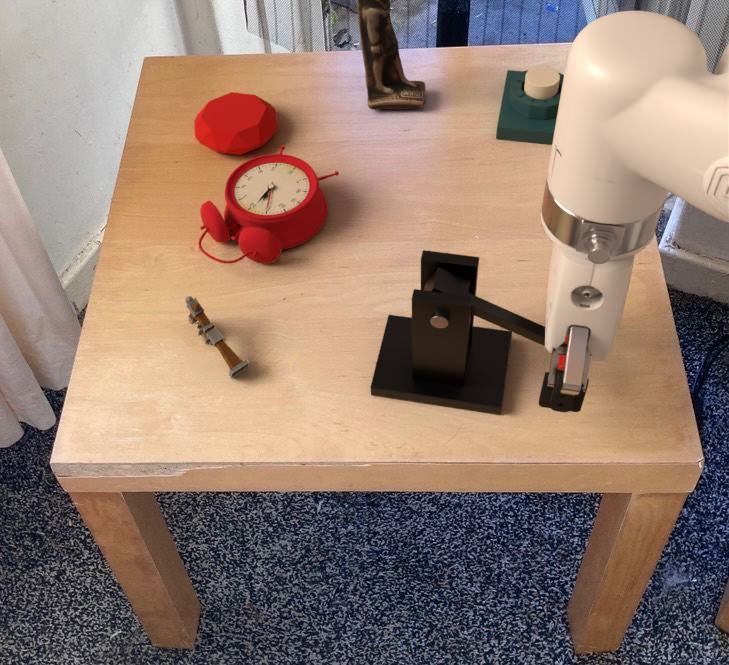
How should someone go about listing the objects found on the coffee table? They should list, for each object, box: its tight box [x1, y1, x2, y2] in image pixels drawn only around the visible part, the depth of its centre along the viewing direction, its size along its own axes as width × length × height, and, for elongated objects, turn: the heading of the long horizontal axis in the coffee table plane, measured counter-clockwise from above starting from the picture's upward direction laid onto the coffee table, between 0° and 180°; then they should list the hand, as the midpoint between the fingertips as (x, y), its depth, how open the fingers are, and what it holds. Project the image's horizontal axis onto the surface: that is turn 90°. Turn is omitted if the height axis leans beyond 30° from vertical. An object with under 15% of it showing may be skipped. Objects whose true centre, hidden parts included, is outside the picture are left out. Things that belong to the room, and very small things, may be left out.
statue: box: [356, 0, 426, 111], centre depth 88 cm, size 4×7×20 cm, turn 89°
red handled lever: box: [424, 267, 569, 371], centre depth 67 cm, size 13×5×2 cm, turn 78°
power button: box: [524, 65, 560, 100], centre depth 91 cm, size 4×4×2 cm
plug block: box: [495, 69, 564, 146], centre depth 92 cm, size 8×10×4 cm
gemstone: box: [193, 91, 279, 156], centre depth 93 cm, size 9×9×3 cm
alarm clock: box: [197, 145, 340, 265], centre depth 83 cm, size 10×6×15 cm
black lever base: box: [369, 249, 513, 416], centre depth 69 cm, size 11×8×12 cm
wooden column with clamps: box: [184, 295, 250, 379], centre depth 75 cm, size 2×8×4 cm, turn 40°
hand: (563, 356), depth 69 cm, fingers open, 9 cm apart
